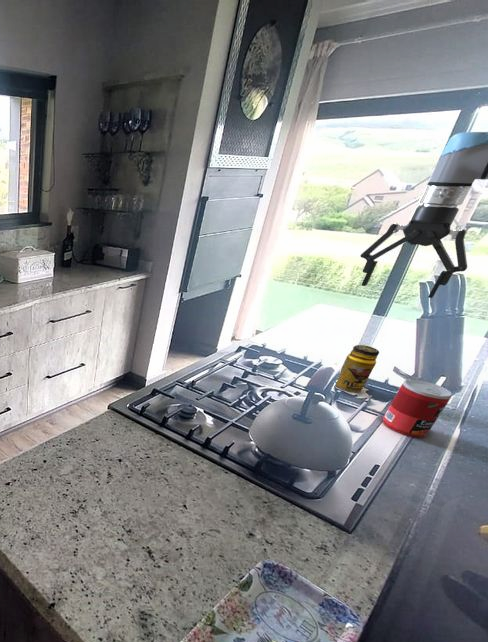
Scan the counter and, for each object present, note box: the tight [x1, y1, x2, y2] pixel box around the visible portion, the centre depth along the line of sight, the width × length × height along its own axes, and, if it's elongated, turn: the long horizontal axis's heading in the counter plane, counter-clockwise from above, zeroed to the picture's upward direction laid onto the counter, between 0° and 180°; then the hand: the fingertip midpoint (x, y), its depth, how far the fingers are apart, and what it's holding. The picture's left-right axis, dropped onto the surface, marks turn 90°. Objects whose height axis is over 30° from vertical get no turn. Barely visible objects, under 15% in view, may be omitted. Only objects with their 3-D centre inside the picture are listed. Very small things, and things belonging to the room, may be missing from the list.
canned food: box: [382, 378, 453, 438], centre depth 92 cm, size 8×8×11 cm
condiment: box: [335, 344, 380, 396], centre depth 110 cm, size 7×8×12 cm
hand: (395, 290), depth 108 cm, fingers open, 13 cm apart
